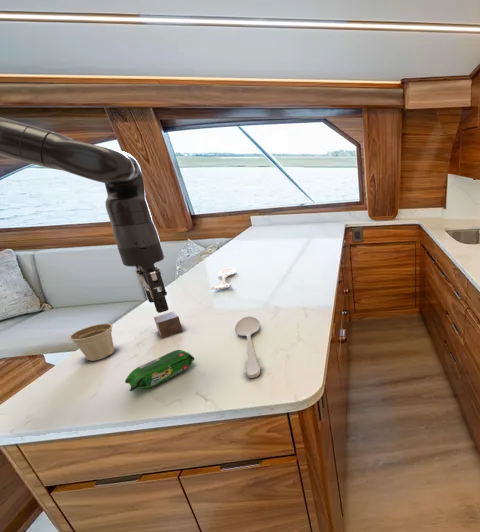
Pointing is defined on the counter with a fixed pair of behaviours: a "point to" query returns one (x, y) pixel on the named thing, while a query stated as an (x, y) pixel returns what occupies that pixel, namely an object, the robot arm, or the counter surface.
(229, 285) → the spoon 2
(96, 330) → the flower pot
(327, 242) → the counter surface
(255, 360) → the spoon
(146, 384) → the snack package
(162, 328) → the walnut block
